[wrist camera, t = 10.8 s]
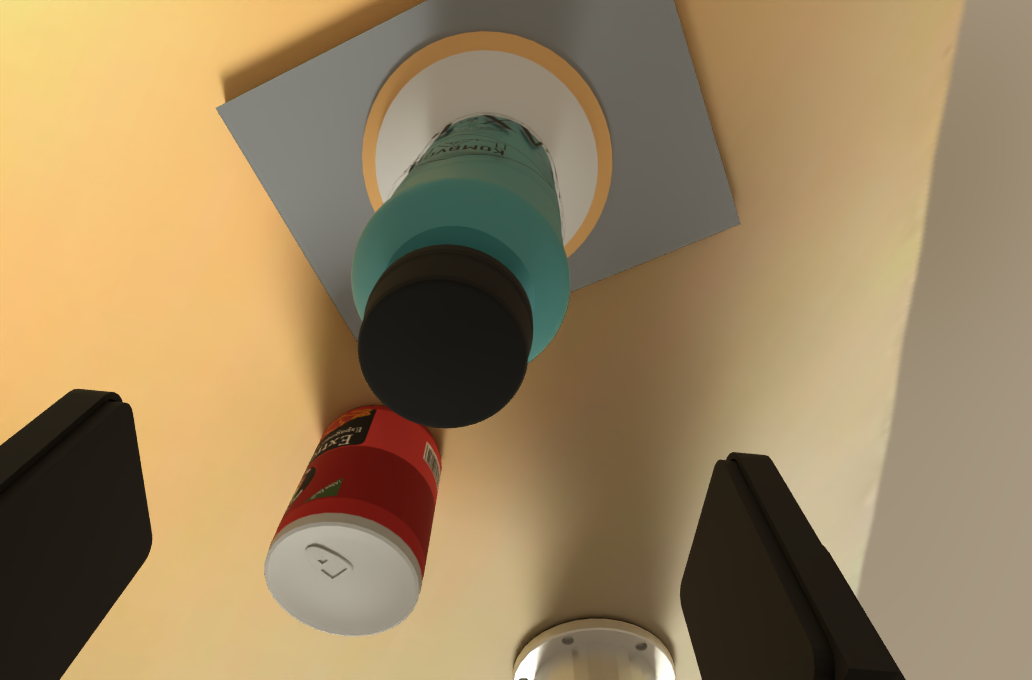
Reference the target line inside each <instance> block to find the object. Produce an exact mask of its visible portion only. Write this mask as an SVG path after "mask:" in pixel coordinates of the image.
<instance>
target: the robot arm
mask: <svg viewBox="0 0 1032 680" xmlns="http://www.w3.org/2000/svg"><path fill="white" fill-rule="evenodd" d="M151 545H152V531H151V524H150V518H149V512H148V506H147V499H146V493H145V487H144V480H143V474H142V468H141V462H140V455H139V449H138V443H137V436H136V430H135V424H134V417H133V412H132V408H131V406H130V405H129V404H127V403H123V402H122V399H121V397H120V396H119V395H118V394H116V393H115V392H106V391H95V390H85V389H74V390H72V391H70V392H68V393H67V394H66V395H65V396H63V397H62V398H61V399H59V400H58V401H57V402H56V403H54V404H53V405H52V406H50V407H49V408H48V409H47V410H45V411H44V412H43V413H41V414H40V415H39V416H38V417H36V418H35V419H34V420H33V421H31V422H30V423H29V424H27V425H26V426H25V427H24V428H22V429H21V430H20V431H18V432H17V433H16V434H15V435H13V436H12V437H11V438H9V439H8V440H7V441H6V442H4V443H3V444H2V445H1V446H0V680H60V678H61V677H62V676H63V674H64V673H65V672H66V670H67V669H68V667H69V666H70V665H71V663H72V662H73V660H74V659H75V658H76V656H77V655H78V653H79V652H80V651H81V649H82V648H83V647H84V645H85V644H86V642H87V641H88V640H89V638H90V637H91V635H92V634H93V633H94V631H95V630H96V628H97V627H98V626H99V624H100V623H101V622H102V620H103V619H104V617H105V616H106V615H107V613H108V612H109V610H110V609H111V608H112V606H113V605H114V603H115V602H116V601H117V599H118V598H119V597H120V595H121V594H122V592H123V591H124V590H125V588H126V587H127V585H128V584H129V583H130V581H131V580H132V578H133V577H134V576H135V574H136V573H137V572H138V570H139V569H140V567H141V566H142V565H143V563H144V562H145V560H146V559H147V557H148V555H149V552H150V549H151ZM680 600H681V606H682V610H683V614H684V617H685V621H686V624H687V628H688V631H689V635H690V638H691V642H692V646H693V649H694V653H695V656H696V660H697V663H698V667H699V670H700V674H701V677H702V680H906V679H905V678H904V676H903V675H902V673H901V671H900V670H899V668H898V666H897V665H896V663H895V661H894V660H893V658H892V656H891V655H890V653H889V651H888V650H887V648H886V646H885V645H884V643H883V641H882V640H881V638H880V636H879V635H878V633H877V631H876V630H875V628H874V626H873V625H872V623H871V621H870V620H869V618H868V617H867V615H866V613H865V611H864V610H863V608H862V607H861V605H860V603H859V601H858V600H857V598H856V596H855V595H854V593H853V591H852V590H851V588H850V586H849V585H848V583H847V581H846V580H845V578H844V576H843V575H842V573H841V571H840V570H839V568H838V566H837V565H836V563H835V561H834V560H833V558H832V556H831V555H830V553H829V552H828V551H827V549H826V548H825V547H824V546H823V545H822V544H821V542H820V540H819V539H818V537H817V535H816V534H815V532H814V530H813V529H812V527H811V525H810V523H809V522H808V520H807V518H806V517H805V515H804V513H803V512H802V510H801V508H800V507H799V505H798V503H797V502H796V500H795V498H794V497H793V495H792V493H791V492H790V490H789V488H788V487H787V485H786V483H785V482H784V480H783V478H782V477H781V475H780V473H779V471H778V470H777V468H776V466H775V465H774V463H773V461H772V460H771V459H770V458H769V456H766V455H758V454H747V453H737V452H732V453H730V454H729V455H728V457H727V459H726V460H719V461H717V463H716V464H715V467H714V470H713V474H712V477H711V481H710V484H709V487H708V491H707V494H706V498H705V501H704V505H703V508H702V512H701V515H700V519H699V522H698V526H697V529H696V533H695V536H694V540H693V543H692V547H691V550H690V554H689V557H688V561H687V564H686V568H685V571H684V575H683V578H682V582H681V588H680ZM513 680H676V672H675V668H674V664H673V660H672V657H671V655H670V653H669V651H668V649H667V648H666V647H665V646H664V644H663V643H662V642H661V641H660V640H659V639H658V638H657V637H655V636H654V635H653V634H651V633H650V632H648V631H646V630H644V629H642V628H640V627H638V626H636V625H633V624H629V623H626V622H623V621H618V620H611V619H583V620H575V621H571V622H567V623H564V624H560V625H558V626H555V627H553V628H551V629H548V630H546V631H544V632H543V633H541V634H540V635H538V636H537V637H535V638H534V639H532V640H531V641H530V642H529V643H528V644H527V645H526V646H525V647H524V648H523V650H522V651H521V653H520V654H519V656H518V657H517V660H516V662H515V665H514V669H513Z"/></svg>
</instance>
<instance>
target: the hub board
mask: <svg viewBox="0 0 1032 680" xmlns="http://www.w3.org/2000/svg"><path fill="white" fill-rule="evenodd" d="M216 110H217V111H218V113H219V115H220V116H221V118H222V120H223V121H224V123H225V124H226V126H227V128H228V129H229V131H230V133H231V134H232V136H233V138H234V139H235V141H236V143H237V144H238V146H239V148H240V149H241V151H242V153H243V154H244V156H245V157H246V159H247V161H248V162H249V164H250V166H251V167H252V169H253V171H254V172H255V174H256V176H257V177H258V179H259V181H260V182H261V184H262V186H263V187H264V189H265V191H266V192H267V194H268V195H269V197H270V199H271V200H272V202H273V204H274V205H275V207H276V209H277V210H278V212H279V214H280V215H281V217H282V219H283V220H284V222H285V224H286V225H287V227H288V228H289V230H290V232H291V233H292V235H293V237H294V238H295V240H296V242H297V243H298V245H299V247H300V248H301V250H302V252H303V253H304V255H305V257H306V258H307V260H308V262H309V263H310V265H311V266H312V268H313V270H314V271H315V273H316V275H317V276H318V278H319V280H320V281H321V283H322V285H323V286H324V288H325V290H326V291H327V293H328V295H329V296H330V298H331V299H332V301H333V303H334V304H335V306H336V308H337V309H338V311H339V313H340V314H341V316H342V318H343V319H344V321H345V323H346V324H347V326H348V328H349V329H350V331H351V332H352V334H353V336H354V337H355V339H356V341H357V342H358V336H359V331H360V327H361V324H362V320H361V318H360V316H359V313H358V311H357V308H356V305H355V302H354V297H353V292H352V282H351V270H352V261H353V256H354V251H355V248H356V245H357V242H358V240H359V237H360V235H361V233H362V232H363V230H364V228H365V226H366V224H367V223H368V222H369V220H370V219H371V217H372V216H373V215H374V213H375V212H376V211H377V210H378V209H379V208H380V207H381V206H382V204H384V203H385V202H386V201H387V200H388V199H390V198H391V196H392V195H393V193H394V192H395V190H396V189H397V187H398V186H399V185H400V184H401V182H402V181H403V180H404V179H405V177H406V176H407V175H408V174H409V173H408V172H409V170H410V168H411V167H410V166H411V165H414V164H413V163H414V161H415V160H416V159H418V160H420V159H419V158H417V157H418V156H419V155H420V156H419V157H420V158H421V157H422V156H423V155H422V154H425V152H426V151H427V149H428V148H429V147H430V146H431V145H432V143H433V141H435V140H436V139H437V137H438V136H439V134H440V133H441V131H442V130H443V129H444V128H445V127H444V126H447V124H450V122H451V123H452V122H453V123H452V125H453V124H454V123H456V122H458V121H460V120H463V119H466V118H469V117H474V116H477V115H478V116H481V115H493V116H498V117H502V118H507V119H510V118H511V119H510V120H512V121H515V122H517V121H518V120H519V121H518V122H517V123H519V124H521V123H522V124H521V125H522V126H524V127H525V128H527V129H528V128H529V127H530V128H531V130H532V131H533V132H534V133H535V134H536V135H537V136H536V135H535V134H534V133H533V132H532V131H531V130H530V128H529V129H528V131H529V130H530V131H531V132H530V131H529V132H530V133H532V134H533V135H534V136H535V137H536V139H537V140H538V141H539V142H540V141H541V139H542V141H541V142H542V143H543V145H542V146H543V148H544V149H545V151H546V149H547V151H548V152H549V153H548V152H547V151H546V153H547V155H548V157H549V160H550V163H551V167H552V171H553V174H555V169H556V173H557V178H556V179H558V181H557V180H556V179H555V176H556V174H555V175H553V177H554V181H555V183H556V184H555V188H556V192H557V196H558V203H559V209H560V208H561V210H560V217H561V214H563V215H564V214H565V215H564V217H563V216H562V217H561V220H562V221H561V224H562V222H563V225H561V232H562V238H563V237H564V239H563V245H564V249H565V252H566V255H567V259H568V264H569V269H570V284H571V285H570V292H573V291H575V290H578V289H580V288H583V287H585V286H588V285H590V284H593V283H595V282H597V281H600V280H602V279H605V278H607V277H610V276H612V275H615V274H617V273H620V272H622V271H625V270H627V269H630V268H632V267H635V266H637V265H640V264H642V263H645V262H647V261H650V260H652V259H655V258H657V257H660V256H662V255H665V254H667V253H669V252H672V251H674V250H677V249H679V248H682V247H684V246H687V245H689V244H692V243H694V242H697V241H699V240H702V239H704V238H707V237H709V236H712V235H714V234H717V233H719V232H722V231H724V230H727V229H729V228H732V227H734V226H737V225H739V224H740V220H739V217H738V214H737V210H736V207H735V203H734V200H733V197H732V193H731V190H730V187H729V183H728V180H727V177H726V173H725V170H724V167H723V163H722V160H721V156H720V153H719V150H718V146H717V143H716V140H715V136H714V133H713V130H712V126H711V123H710V120H709V116H708V113H707V109H706V106H705V103H704V99H703V96H702V93H701V89H700V86H699V83H698V79H697V76H696V73H695V69H694V66H693V62H692V59H691V56H690V52H689V49H688V46H687V42H686V39H685V36H684V32H683V29H682V26H681V22H680V19H679V15H678V12H677V9H676V5H675V2H674V0H427V1H425V2H423V3H421V4H419V5H417V6H415V7H413V8H411V9H409V10H407V11H405V12H403V13H401V14H399V15H397V16H395V17H393V18H391V19H389V20H387V21H385V22H383V23H381V24H380V25H378V26H376V27H374V28H372V29H370V30H368V31H366V32H364V33H362V34H360V35H358V36H356V37H354V38H352V39H350V40H348V41H346V42H344V43H342V44H340V45H338V46H336V47H334V48H332V49H330V50H328V51H327V52H325V53H323V54H321V55H319V56H317V57H315V58H313V59H311V60H309V61H307V62H305V63H303V64H301V65H299V66H297V67H295V68H293V69H291V70H289V71H287V72H285V73H283V74H281V75H279V76H277V77H276V78H274V79H272V80H270V81H268V82H266V83H264V84H262V85H260V86H258V87H256V88H254V89H252V90H250V91H248V92H246V93H244V94H242V95H240V96H238V97H236V98H234V99H232V100H230V101H228V102H226V103H225V104H223V105H221V106H219V107H217V108H216ZM482 112H485V114H483V113H482ZM487 112H490V113H487ZM473 113H474V115H473ZM486 113H487V114H486ZM497 113H498V114H497ZM475 114H476V115H475ZM494 114H497V115H494ZM502 114H503V115H502ZM467 115H468V116H467ZM500 115H502V116H500ZM506 115H507V116H506ZM464 116H465V117H464ZM504 116H505V117H504ZM461 117H463V118H461ZM508 117H509V118H508ZM458 118H459V119H458ZM514 118H515V119H514ZM456 119H457V121H456ZM513 119H514V120H513ZM516 119H517V120H516ZM454 120H455V122H454ZM520 121H521V122H520ZM523 123H524V124H523ZM526 125H527V126H526ZM442 128H443V129H442ZM437 133H439V134H438V135H437V136H435V137H434V138H433V136H434V135H435V134H437ZM429 142H430V143H431V144H430V143H429ZM544 143H545V144H544ZM429 144H430V145H429ZM427 145H428V146H427ZM544 146H547V147H544ZM425 147H426V148H425ZM423 149H424V150H423ZM420 153H421V154H420ZM549 154H550V155H549ZM550 156H551V157H550ZM551 158H552V159H551ZM418 160H417V162H418ZM552 160H553V161H554V162H553V161H552ZM412 162H413V163H412ZM415 162H416V161H415ZM417 162H416V164H417ZM553 163H554V164H553ZM409 165H410V166H409ZM554 166H555V168H554ZM408 167H410V168H409V169H408ZM407 169H408V170H407ZM405 170H406V172H407V171H408V172H407V173H406V172H405ZM404 172H405V173H404ZM402 173H403V174H402ZM402 175H403V176H402ZM397 180H398V181H397ZM557 182H558V183H557ZM395 183H396V184H395ZM557 185H558V187H559V188H558V187H557ZM557 188H558V189H557ZM559 189H560V191H559ZM390 192H391V193H390ZM389 194H390V195H389ZM559 194H561V195H560V197H561V199H559ZM388 196H389V197H388ZM561 201H562V203H561ZM562 205H563V208H562ZM562 209H563V210H562ZM563 211H564V212H563ZM563 227H564V228H563ZM564 233H565V235H564Z"/></svg>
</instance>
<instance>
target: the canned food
mask: <svg viewBox="0 0 1032 680" xmlns="http://www.w3.org/2000/svg"><path fill="white" fill-rule="evenodd" d="M441 468H442V467H441V457H440V454H439V451H438V447H437V444H436V441H435V440H434V438H433V436H432V434H431V433H430V432H429V430H428V429H427V428H426V427H425V426H423V425H420V424H417V423H414V422H411V421H409V420H407V419H405V418H403V417H401V416H399V415H398V414H396V413H395V412H393V411H392V410H390V409H389V408H388V407H386V406H374V405H371V406H364V407H359V408H356V409H353V410H350V411H348V412H347V413H345V414H343V415H342V416H340V417H339V418H338V419H336V420H335V421H334V422H333V423H332V424H331V425H330V426H329V427H328V428H327V430H326V431H325V433H324V434H323V436H322V438H321V440H320V442H319V444H318V446H317V448H316V450H315V453H314V455H313V457H312V459H311V461H310V463H309V465H308V467H307V469H306V471H305V473H304V475H303V477H302V479H301V481H300V483H299V485H298V487H297V489H296V491H295V494H294V496H293V498H292V500H291V502H290V504H289V506H288V508H287V510H286V512H285V514H284V516H283V518H282V520H281V522H280V524H279V526H278V528H277V531H276V534H275V536H274V538H273V540H272V542H271V544H270V547H269V551H268V554H267V557H266V560H265V571H264V575H265V579H266V583H267V586H268V588H269V590H270V592H271V594H272V596H273V597H274V599H275V600H276V601H277V603H278V604H279V605H280V606H281V607H282V608H283V609H284V610H285V611H286V612H287V613H289V614H290V615H291V616H292V617H294V618H295V619H297V620H298V621H300V622H302V623H303V624H305V625H308V626H310V627H312V628H314V629H316V630H320V631H323V632H326V633H330V634H335V635H341V636H367V635H374V634H377V633H381V632H384V631H387V630H389V629H391V628H393V627H395V626H397V625H398V624H400V623H401V622H402V621H404V620H405V619H406V618H407V617H408V616H409V614H410V613H411V612H412V611H413V609H414V607H415V605H416V603H417V601H418V596H419V594H420V591H421V586H422V580H423V576H424V571H425V565H426V559H427V553H428V547H429V541H430V535H431V529H432V523H433V517H434V511H435V505H436V499H437V493H438V487H439V481H440V475H441Z"/></svg>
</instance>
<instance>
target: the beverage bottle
mask: <svg viewBox="0 0 1032 680" xmlns="http://www.w3.org/2000/svg"><path fill="white" fill-rule="evenodd" d="M482 113H483V114H485V112H482ZM487 113H490V112H487ZM487 113H486V114H487ZM497 114H498V113H497ZM497 114H494V115H497ZM473 115H474V113H473ZM475 115H476V114H475ZM502 115H503V114H502ZM502 115H500V116H502ZM467 116H468V115H467ZM506 116H507V115H506ZM464 117H465V116H464ZM504 117H505V116H504ZM461 118H463V117H461ZM508 118H509V117H508ZM458 119H459V118H458ZM510 119H511V118H510ZM510 119H507V118H502V117H498V116H493V115H481V116H478V115H477V116H474V117H469V118H466V119H463V120H460V121H458V122H456V123H454V124H453V125H452V123H453V122H452V123H451V122H450V124H447V126H444V127H445V128H444V129H443V128H442V129H443V130H442V131H441V133H440V134H439V133H437V134H435V135H434V136H433V138H434V137H435V136H437V135H438V134H439V136H438V137H437V139H436V140H435V141H433V143H432V145H431V146H430V147H429V148H428V149H427V151H426V152H425V154H422V155H423V156H422V157H421V158H420V157H419V156H420V155H419V156H418V157H417V158H419V159H420V160H418V159H416V160H415V161H416V162H417V160H418V162H417V164H416V162H415V161H414V163H413V162H412V163H413V164H414V165H411V166H410V165H409V166H410V167H411V168H410V167H408V169H409V168H410V170H409V172H408V171H407V172H408V173H409V174H408V175H407V176H406V177H405V179H404V180H403V181H402V182H401V184H400V185H399V186H398V187H397V189H396V190H395V192H394V193H393V195H392V196H391V198H390V199H388V200H387V201H386V202H385V203H384V204H382V206H381V207H380V208H379V209H378V210H377V211H376V212H375V213H374V215H373V216H372V217H371V219H370V220H369V222H368V223H367V224H366V226H365V228H364V230H363V232H362V233H361V235H360V237H359V240H358V242H357V245H356V248H355V251H354V256H353V261H352V270H351V282H352V292H353V297H354V302H355V305H356V308H357V311H358V313H359V316H360V318H361V320H362V324H361V327H360V331H359V336H358V356H359V362H360V366H361V370H362V372H363V375H364V377H365V380H366V381H367V383H368V385H369V387H370V388H371V390H372V391H373V393H374V394H375V395H376V396H377V398H378V399H379V400H380V401H381V402H382V403H383V404H384V405H385V406H387V407H388V408H389V409H390V410H392V411H393V412H395V413H396V414H398V415H399V416H401V417H403V418H405V419H407V420H409V421H411V422H414V423H417V424H420V425H423V426H428V427H434V428H457V427H464V426H468V425H472V424H476V423H478V422H481V421H483V420H485V419H487V418H489V417H491V416H493V415H494V414H495V413H497V412H498V411H500V410H501V409H502V408H503V407H504V406H505V405H506V404H507V403H508V402H509V401H510V400H511V399H512V398H513V396H514V395H515V393H516V392H517V390H518V389H519V387H520V385H521V383H522V381H523V379H524V376H525V373H526V370H527V363H529V362H530V361H532V360H533V359H534V358H535V357H536V356H538V355H539V354H540V353H541V352H542V351H543V350H544V349H545V348H546V347H547V345H548V344H549V343H550V342H551V341H552V339H553V338H554V336H555V335H556V333H557V332H558V330H559V328H560V326H561V324H562V322H563V319H564V316H565V314H566V311H567V307H568V302H569V298H570V285H571V284H570V269H569V264H568V259H567V255H566V252H565V249H564V245H563V239H564V237H563V238H562V232H561V225H563V222H562V224H561V221H562V220H561V217H562V216H563V217H564V215H565V214H564V215H563V214H561V217H560V210H561V208H560V209H559V203H558V196H557V192H556V188H555V184H556V183H555V181H554V177H553V175H555V174H556V176H555V179H556V178H557V173H556V169H555V174H553V171H552V167H551V163H550V160H549V157H548V155H547V153H546V151H547V149H546V151H545V149H544V148H543V146H542V145H543V143H542V142H541V141H542V139H541V141H540V142H539V141H538V140H537V139H536V137H535V136H534V135H533V134H532V133H530V132H531V131H532V130H531V128H530V127H529V128H530V130H531V131H530V130H529V131H530V132H529V131H528V129H529V128H528V129H527V128H525V127H524V126H522V125H521V124H522V123H521V124H519V123H517V122H518V121H519V120H518V121H517V122H515V121H512V120H510ZM514 119H515V118H514ZM514 119H513V120H514ZM516 120H517V119H516ZM456 121H457V119H456ZM454 122H455V120H454ZM520 122H521V121H520ZM523 124H524V123H523ZM526 126H527V125H526ZM532 132H533V131H532ZM533 133H534V132H533ZM534 134H535V133H534ZM535 135H536V134H535ZM536 136H537V135H536ZM429 143H430V142H429ZM430 144H431V143H430ZM430 144H429V145H430ZM544 144H545V143H544ZM427 146H428V145H427ZM544 147H547V146H544ZM425 148H426V147H425ZM423 150H424V149H423ZM547 152H548V151H547ZM548 153H549V152H548ZM420 154H421V153H420ZM549 155H550V154H549ZM550 157H551V156H550ZM551 159H552V158H551ZM552 161H553V160H552ZM553 162H554V161H553ZM553 164H554V163H553ZM554 168H555V166H554ZM408 169H407V170H408ZM405 172H406V170H405ZM405 172H404V173H405ZM407 172H406V173H407ZM402 174H403V173H402ZM402 176H403V175H402ZM556 180H557V181H558V179H556ZM397 181H398V180H397ZM557 183H558V182H557ZM395 184H396V183H395ZM557 187H558V185H557ZM558 188H559V187H558ZM558 188H557V189H558ZM559 191H560V189H559ZM390 193H391V192H390ZM389 195H390V194H389ZM560 195H561V194H559V199H561V197H560ZM388 197H389V196H388ZM561 203H562V201H561ZM562 208H563V205H562ZM562 210H563V209H562ZM563 212H564V211H563ZM563 228H564V227H563ZM564 235H565V233H564Z"/></svg>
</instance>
